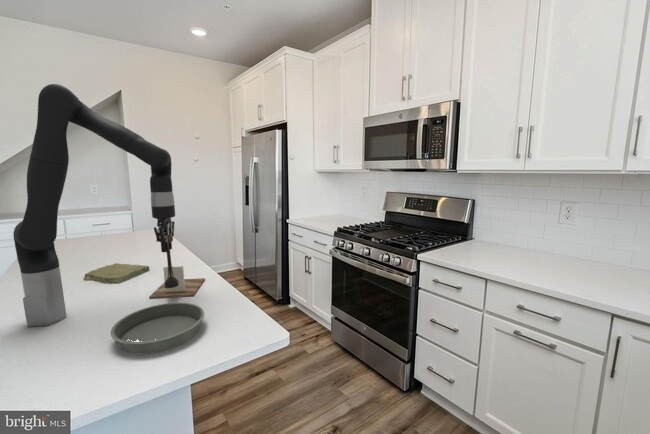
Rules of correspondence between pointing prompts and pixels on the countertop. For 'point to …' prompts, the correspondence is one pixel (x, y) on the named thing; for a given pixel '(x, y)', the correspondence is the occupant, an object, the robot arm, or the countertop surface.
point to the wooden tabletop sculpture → (170, 268)
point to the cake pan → (158, 327)
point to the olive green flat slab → (115, 273)
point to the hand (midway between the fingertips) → (166, 250)
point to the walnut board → (190, 290)
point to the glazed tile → (179, 275)
